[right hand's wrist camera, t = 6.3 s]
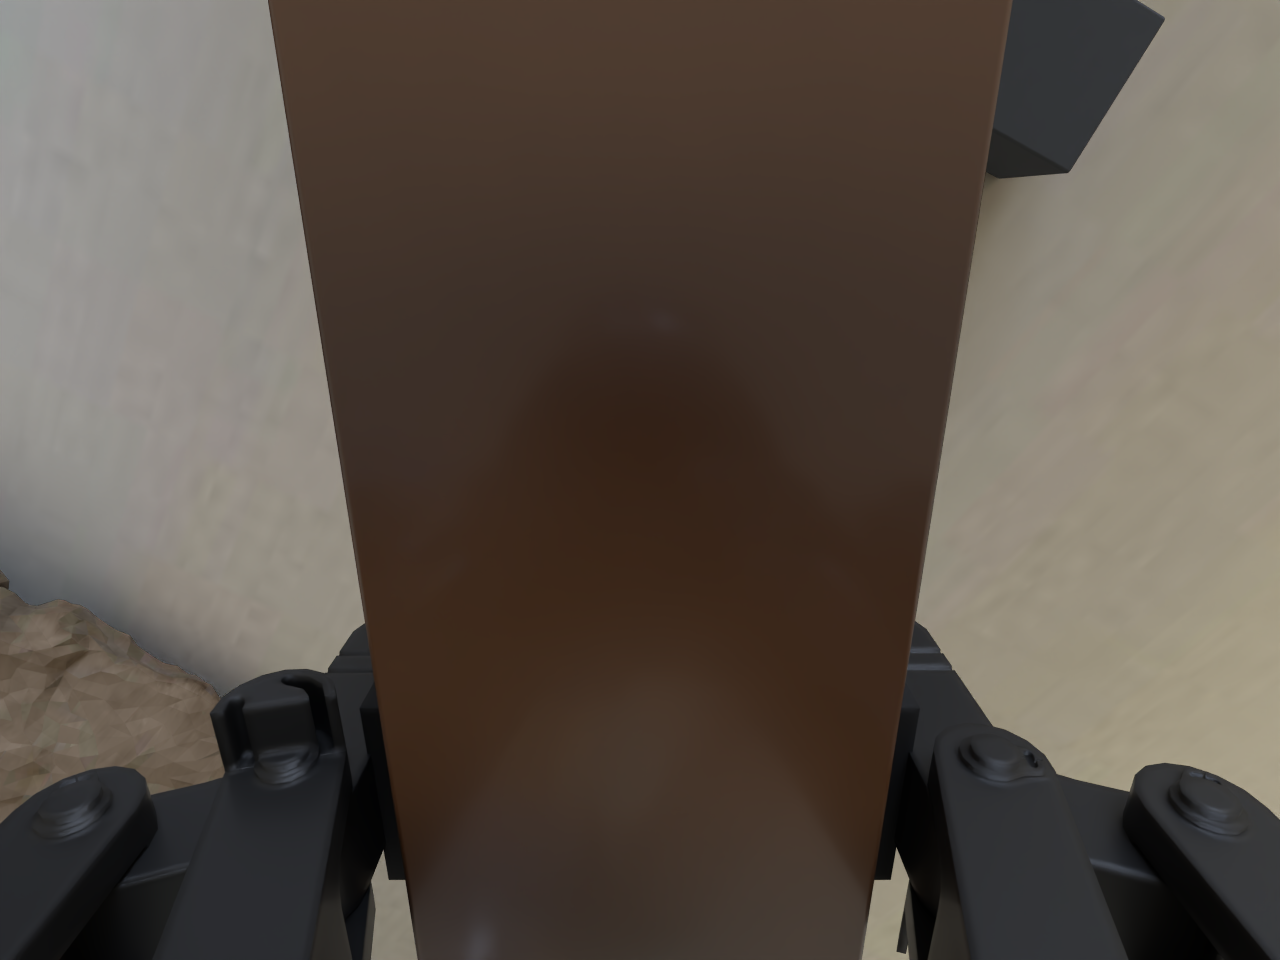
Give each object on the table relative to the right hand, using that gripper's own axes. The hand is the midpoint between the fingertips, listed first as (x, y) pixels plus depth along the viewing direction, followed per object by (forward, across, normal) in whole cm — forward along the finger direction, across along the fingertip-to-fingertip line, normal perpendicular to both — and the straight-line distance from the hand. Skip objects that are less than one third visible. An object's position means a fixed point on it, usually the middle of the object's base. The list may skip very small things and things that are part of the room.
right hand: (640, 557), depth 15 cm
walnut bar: (0, 0, -9) cm, 9 cm away
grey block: (+12, -11, -10) cm, 19 cm away
